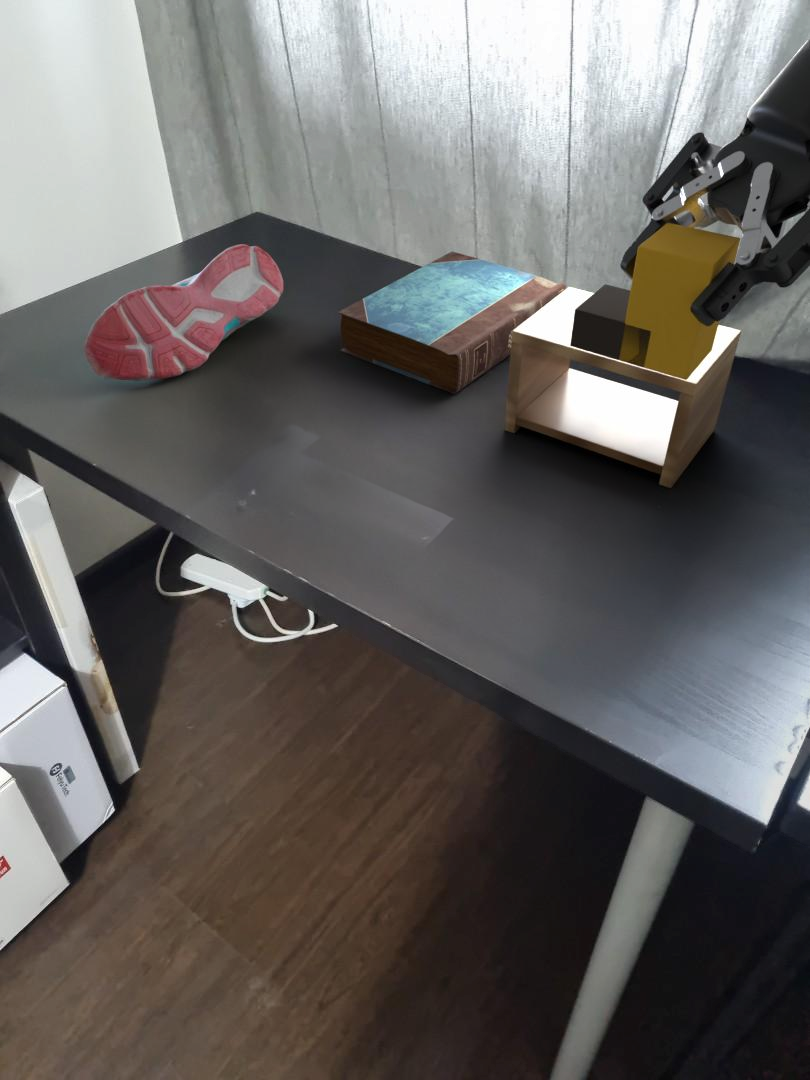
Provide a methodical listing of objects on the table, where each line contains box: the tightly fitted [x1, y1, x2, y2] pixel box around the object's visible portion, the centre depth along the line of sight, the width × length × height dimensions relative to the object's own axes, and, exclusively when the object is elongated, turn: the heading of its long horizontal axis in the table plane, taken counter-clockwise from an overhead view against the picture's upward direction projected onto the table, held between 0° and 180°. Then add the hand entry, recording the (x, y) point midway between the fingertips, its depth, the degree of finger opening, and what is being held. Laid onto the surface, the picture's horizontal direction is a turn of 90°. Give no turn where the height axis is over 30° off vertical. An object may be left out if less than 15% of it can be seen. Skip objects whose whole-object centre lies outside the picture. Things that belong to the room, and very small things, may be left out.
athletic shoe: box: [84, 243, 284, 382], centre depth 99 cm, size 27×9×12 cm
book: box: [337, 251, 567, 395], centre depth 100 cm, size 23×18×5 cm
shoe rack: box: [504, 286, 742, 489], centre depth 82 cm, size 18×12×11 cm, turn 55°
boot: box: [570, 223, 741, 380], centre depth 59 cm, size 9×5×8 cm, turn 55°
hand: (662, 295), depth 57 cm, fingers closed on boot, 7 cm apart
